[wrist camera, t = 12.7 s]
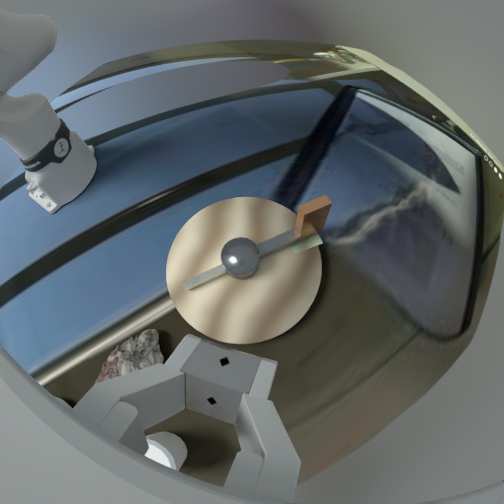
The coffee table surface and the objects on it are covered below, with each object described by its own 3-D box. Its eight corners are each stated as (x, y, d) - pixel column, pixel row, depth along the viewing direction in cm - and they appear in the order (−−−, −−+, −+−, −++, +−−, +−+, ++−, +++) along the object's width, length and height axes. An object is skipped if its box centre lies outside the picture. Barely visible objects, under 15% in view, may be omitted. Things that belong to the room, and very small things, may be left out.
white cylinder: (201, 451, 28) (187, 468, 22) (172, 476, 27) (154, 494, 20) (165, 418, 31) (143, 427, 24) (137, 444, 29) (114, 455, 22)
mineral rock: (152, 323, 36) (138, 317, 32) (184, 367, 34) (173, 367, 30) (89, 377, 33) (72, 376, 29) (115, 419, 30) (100, 423, 26)
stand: (148, 315, 37) (144, 313, 35) (201, 191, 45) (199, 185, 43) (298, 363, 33) (299, 363, 32) (331, 220, 41) (333, 215, 40)
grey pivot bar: (191, 303, 35) (174, 289, 29) (179, 271, 37) (161, 251, 31) (329, 239, 38) (339, 214, 31) (311, 212, 40) (318, 184, 33)
